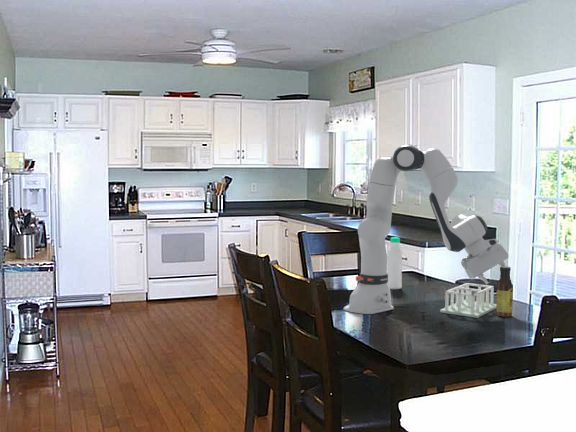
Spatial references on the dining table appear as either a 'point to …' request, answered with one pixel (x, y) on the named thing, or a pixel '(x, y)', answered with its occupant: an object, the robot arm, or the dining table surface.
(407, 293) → the dining table surface
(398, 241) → the water bottle
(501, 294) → the sauce bottle
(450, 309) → the dish rack
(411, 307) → the dining table surface
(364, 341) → the dining table surface
